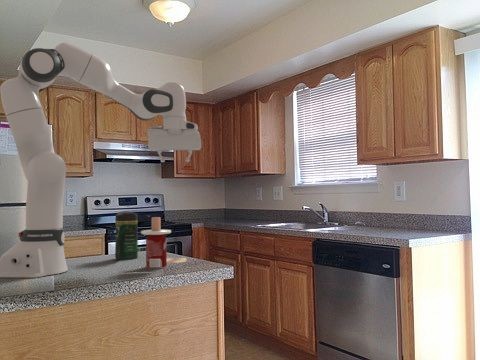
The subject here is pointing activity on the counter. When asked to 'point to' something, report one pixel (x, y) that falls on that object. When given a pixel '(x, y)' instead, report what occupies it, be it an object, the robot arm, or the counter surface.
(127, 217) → the coffee jar
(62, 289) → the counter surface
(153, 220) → the lid
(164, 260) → the soda can
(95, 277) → the counter surface
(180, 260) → the mat
